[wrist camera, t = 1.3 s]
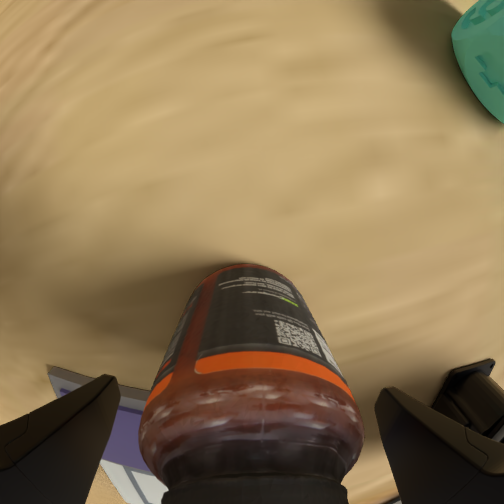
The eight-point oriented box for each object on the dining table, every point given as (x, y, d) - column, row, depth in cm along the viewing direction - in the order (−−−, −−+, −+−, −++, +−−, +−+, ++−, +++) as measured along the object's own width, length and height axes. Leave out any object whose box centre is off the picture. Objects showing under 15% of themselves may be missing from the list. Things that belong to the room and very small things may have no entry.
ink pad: (199, 398, 15) (196, 413, 14) (205, 472, 17) (203, 485, 16) (54, 366, 14) (44, 376, 13) (89, 446, 17) (84, 456, 15)
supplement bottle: (199, 366, 14) (160, 559, 3) (178, 265, 13) (35, 471, 2) (306, 357, 14) (366, 548, 3) (303, 254, 13) (456, 457, 2)
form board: (271, 470, 17) (271, 475, 17) (256, 518, 20) (256, 521, 20) (90, 442, 17) (88, 446, 16) (126, 500, 20) (125, 503, 19)
